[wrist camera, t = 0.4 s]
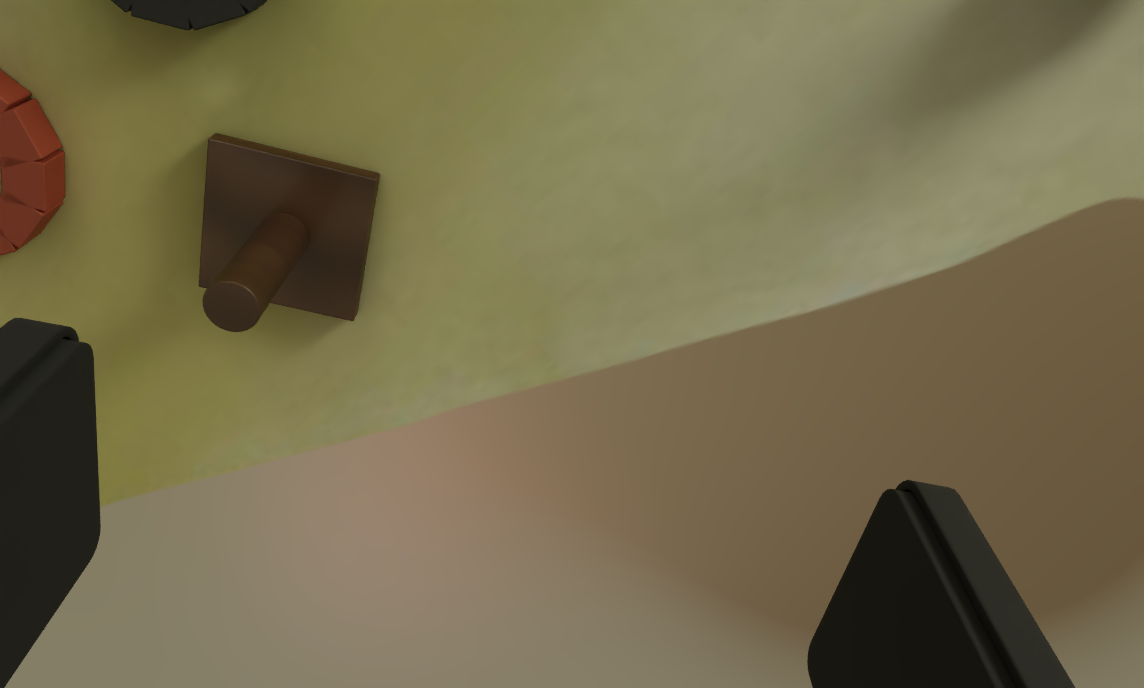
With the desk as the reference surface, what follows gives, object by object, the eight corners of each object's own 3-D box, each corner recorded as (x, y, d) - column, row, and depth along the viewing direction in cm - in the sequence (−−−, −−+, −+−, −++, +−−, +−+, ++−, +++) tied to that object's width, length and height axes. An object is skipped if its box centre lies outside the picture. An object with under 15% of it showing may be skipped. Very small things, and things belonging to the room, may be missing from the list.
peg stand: (214, 132, 43) (135, 196, 36) (380, 173, 44) (338, 244, 37) (205, 278, 47) (131, 366, 39) (357, 313, 48) (315, 405, 40)
